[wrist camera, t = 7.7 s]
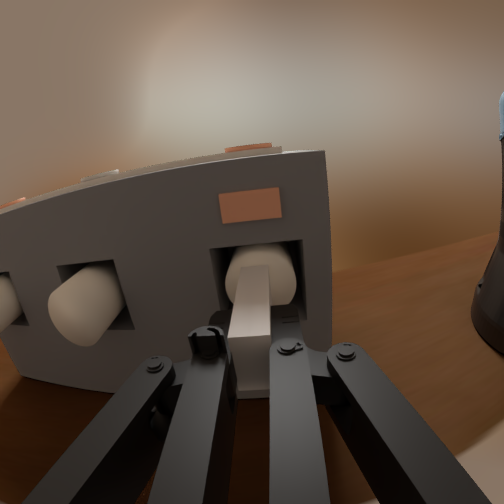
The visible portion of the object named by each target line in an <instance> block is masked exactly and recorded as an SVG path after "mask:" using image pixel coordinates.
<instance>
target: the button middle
mask: <svg viewBox="0 0 504 504" xmlns="http://www.w3.org/2000/svg"><path fill="white" fill-rule="evenodd" d="M125 306H126V300H125V297H124V294H123V291H122V288H121V284H120V281H119V277H118V274H117V270H116V267H115V263H114V260H113V259H111V260H102V261H93V262H90V263H89V264H88V265H86V266H85V267H84V268H83V269H81V270H80V271H79V272H77V273H76V274H75V275H73V276H72V277H71V278H70V279H68V280H67V281H66V282H64V283H63V284H62V285H61V286H59V287H58V288H57V289H56V290H54V291H53V292H52V293H51V295H50V297H49V300H48V311H49V315H50V317H51V320H52V322H53V324H54V325H55V327H56V328H57V330H58V331H59V332H60V333H61V334H62V335H63V336H64V337H65V338H66V339H68V340H69V341H70V342H72V343H74V344H76V345H79V346H84V347H88V346H92V345H94V344H95V343H96V342H97V341H98V340H99V339H100V337H101V336H102V335H103V334H104V332H105V331H106V330H107V328H108V327H109V326H110V325H111V323H112V322H113V321H114V319H115V318H116V317H117V316H118V314H119V313H120V312H121V311H122V309H123V308H124V307H125Z"/></svg>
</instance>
